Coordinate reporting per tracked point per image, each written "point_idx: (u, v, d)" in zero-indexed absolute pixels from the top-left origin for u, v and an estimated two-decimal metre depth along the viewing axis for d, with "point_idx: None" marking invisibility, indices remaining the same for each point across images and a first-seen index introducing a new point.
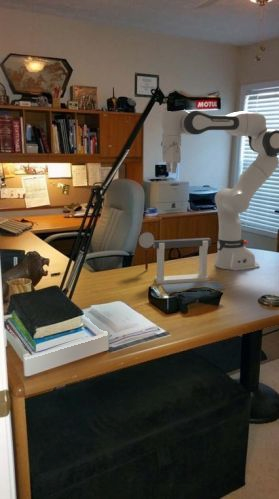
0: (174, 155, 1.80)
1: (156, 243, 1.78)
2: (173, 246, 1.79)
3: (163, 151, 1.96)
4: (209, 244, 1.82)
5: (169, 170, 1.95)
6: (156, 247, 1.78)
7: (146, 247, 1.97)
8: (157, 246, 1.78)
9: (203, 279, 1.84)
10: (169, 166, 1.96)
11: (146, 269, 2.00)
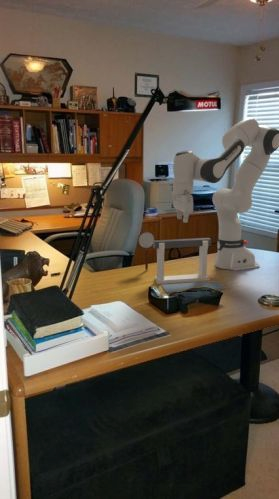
0: (186, 205, 1.67)
1: (156, 243, 1.78)
2: (173, 246, 1.79)
3: (173, 196, 1.84)
4: (209, 244, 1.82)
5: (180, 217, 1.83)
6: (156, 247, 1.78)
7: (146, 247, 1.97)
8: (157, 246, 1.78)
9: (203, 279, 1.84)
10: (180, 213, 1.83)
11: (146, 269, 2.00)
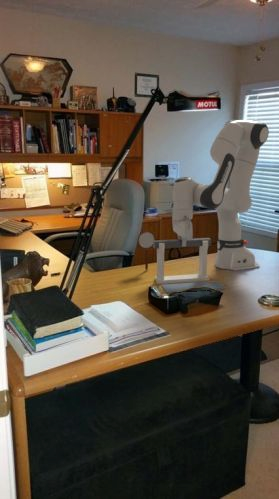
0: (186, 231, 1.70)
1: (156, 243, 1.78)
2: (173, 246, 1.79)
3: (173, 221, 1.86)
4: (209, 244, 1.82)
5: None
6: (156, 247, 1.78)
7: (146, 247, 1.97)
8: (157, 246, 1.78)
9: (203, 279, 1.84)
10: (181, 238, 1.84)
11: (146, 269, 2.00)
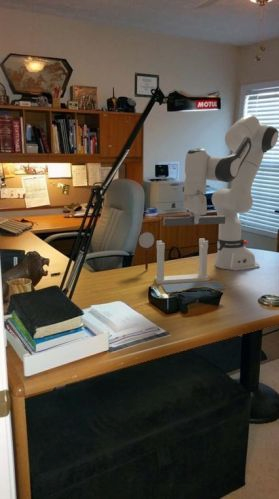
0: (200, 206, 1.57)
1: (166, 220, 1.65)
2: (184, 224, 1.66)
3: (184, 197, 1.73)
4: (223, 222, 1.69)
5: None
6: (166, 224, 1.65)
7: (146, 247, 1.97)
8: (167, 223, 1.65)
9: (203, 279, 1.84)
10: (193, 215, 1.71)
11: (146, 269, 2.00)
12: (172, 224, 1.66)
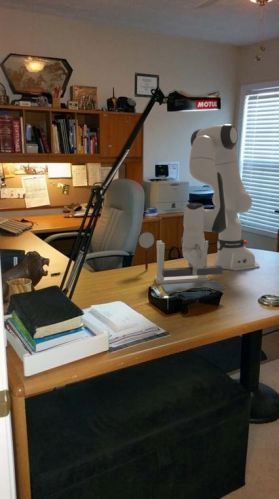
0: (198, 261, 1.62)
1: (165, 272, 1.70)
2: (183, 275, 1.72)
3: (183, 247, 1.79)
4: (220, 272, 1.74)
5: None
6: (165, 276, 1.71)
7: (146, 247, 1.97)
8: (166, 275, 1.70)
9: (203, 279, 1.84)
10: (191, 265, 1.76)
11: (146, 269, 2.00)
12: (171, 275, 1.71)
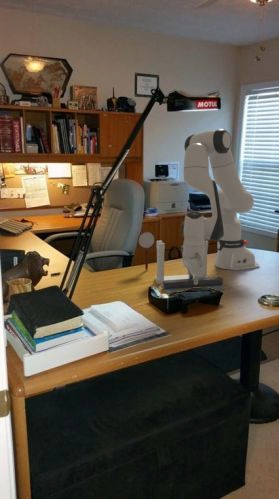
0: (198, 270, 1.63)
1: (166, 284, 1.71)
2: (183, 287, 1.73)
3: (183, 255, 1.80)
4: (221, 284, 1.76)
5: (191, 278, 1.77)
6: (166, 288, 1.72)
7: (146, 247, 1.97)
8: (167, 287, 1.72)
9: None
10: (191, 273, 1.78)
11: (146, 269, 2.00)
12: (172, 287, 1.72)
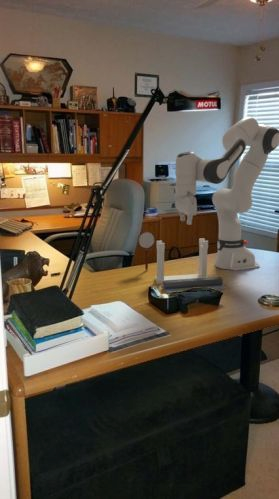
0: (190, 207, 1.65)
1: (166, 284, 1.71)
2: (183, 287, 1.73)
3: (176, 198, 1.81)
4: (221, 284, 1.76)
5: (183, 219, 1.80)
6: (166, 288, 1.72)
7: (146, 247, 1.97)
8: (167, 287, 1.72)
9: None
10: (183, 214, 1.81)
11: (146, 269, 2.00)
12: (172, 287, 1.72)
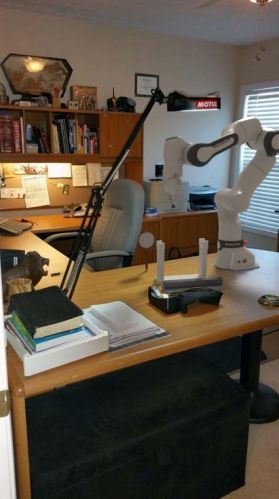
0: (176, 188, 1.75)
1: (166, 284, 1.71)
2: (183, 287, 1.73)
3: (164, 181, 1.91)
4: (221, 284, 1.76)
5: (170, 201, 1.90)
6: (166, 288, 1.72)
7: (146, 247, 1.97)
8: (167, 287, 1.72)
9: None
10: (170, 196, 1.91)
11: (146, 269, 2.00)
12: (172, 287, 1.72)
